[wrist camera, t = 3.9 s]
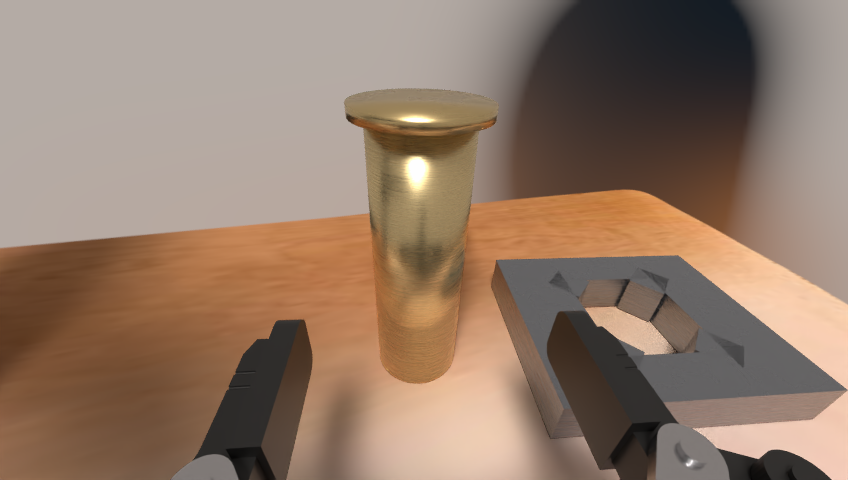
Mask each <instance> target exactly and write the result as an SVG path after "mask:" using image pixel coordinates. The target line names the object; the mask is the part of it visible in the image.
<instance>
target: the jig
mask: <svg viewBox="0 0 848 480" xmlns="http://www.w3.org/2000/svg"><path fill="white" fill-rule="evenodd" d="M491 287H492V290H493V292H494V295H495V297H496V300H497V303H498V305H499V308H500V310H501V313H502V315H503V318H504V321H505V323H506V326H507V328H508V331H509V333H510V336H511V339H512V341H513V344H514V346H515V349H516V352H517V354H518V357H519V359H520V362H521V364H522V367H523V370H524V372H525V375H526V377H527V380H528V383H529V385H530V388H531V390H532V393H533V395H534V398H535V401H536V403H537V406H538V408H539V411H540V413H541V416H542V419H543V421H544V424H545V426H546V429H547V432H548V434H549V437H550V439H554V438H567V437H581V436H584V435H583V433H582V431H581V428H580V426H579V424H578V422H577V420H576V418H575V416H574V413H573V411H572V409H571V407H570V405H569V403H568V401H567V399H566V396H565V394H564V392H563V390H562V388H561V386H560V384H559V381H558V379H557V377H556V375H555V373H554V371H553V369H552V366H551V364H550V362H549V359H548V356H547V341H548V338H549V335H550V332H551V330H552V327H553V324H554V321H555V318H556V315H557V313H558V312H560V311H580V310H583V311H585V312H586V313H587V311H586V310H585V308H584V307H605V306H617V308H618V309H621V310H623V311H625V312H627V313H630V314H632V315H634V316H636V317H639V318H641V319H643V320H645V321H648V322H649V320H650V321H651V323H652V324H653V325H654V326H655V327H656V328H657V329H658V330H659V332H660V333H661V334H662V335H663V336H664V337H665V338H666V340H667V341H668V342H669V343H670V344H671V345H672V346H673V347H674V349H675V350H676V351H677V352H678V353H676V354H657V355H644V353H645V352H643V351H641V350H639V349H637V348H635V347H633V346H631V345H629V344H627V343H625V342H623V341H621V340H619V339H618V340H619V342H620V343H621V345H622V346H623V347H624V349H625V350H626V351H627V353H628V356H629V357H631V358H632V360H633V361H634V363H635V364H636V365H637V369H638V370H640V371H641V372H642V374H643V375H644V376H645V378H646V379H647V381H648V382H649V383H650V385H651V386H652V388H653V389H654V390H655V392H656V393H657V394H658V396H659V397H660V399H661V400H662V401H663V403H664V404H665V406H666V407H667V408H668V410H669V411H670V413H671V414H672V415H673V417H674V418H675V419H676V420H677V422H678V423H679V424H681V425H685V426H687V427H689V428H702V427H715V426H729V425H742V424H756V423H769V422H783V421H796V420H809V419H813V418H815V417H816V416H817V415H818V414H820V413H821V412H822V411H823V410H824V409H826V408H827V407H828V406H829V405H830V404H832V403H833V402H834V401H835V400H837V399H838V398H839V397H840V396H841V395H843V394H844V393H845V392H846V391H848V390H847V389H846V388H844V387H843V386H842V385H841V384H839V383H838V382H837V381H835V380H834V379H833V378H832V377H830V376H829V375H828V374H827V373H825V372H824V371H823V370H822V369H820V368H819V367H818V366H817V365H815V364H814V363H813V362H812V361H810V360H809V359H808V358H807V357H805V356H804V355H803V354H802V353H800V352H799V351H798V350H796V349H795V348H794V347H793V346H791V345H790V344H789V343H788V342H786V341H785V340H784V339H783V338H781V337H780V336H779V335H778V334H776V333H775V332H774V331H773V330H771V329H770V328H769V327H768V326H766V325H765V324H764V323H762V322H761V321H760V320H759V319H757V318H756V317H755V316H754V315H752V314H751V313H750V312H749V311H747V310H746V309H745V308H744V307H742V306H741V305H740V304H739V303H737V302H736V301H735V300H734V299H732V298H731V297H730V296H728V295H727V294H726V293H725V292H723V291H722V290H721V289H720V288H718V287H717V286H716V285H715V284H713V283H712V282H711V281H710V280H708V279H707V278H706V277H705V276H703V275H702V274H701V273H700V272H698V271H697V270H696V269H695V268H693V267H692V266H691V265H689V264H688V263H687V262H686V261H684V260H683V259H682V258H681V257H679V256H637V257H596V258H555V259H514V260H496V265H495V270H494V275H493V281H492V286H491ZM588 315H589V314H588ZM590 318H591V317H590ZM592 321H593V320H592ZM593 322H594V321H593ZM595 325H596V324H595Z"/></svg>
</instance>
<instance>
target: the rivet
mask: <svg viewBox="0 0 848 480" xmlns="http://www.w3.org/2000/svg"><path fill="white" fill-rule="evenodd" d="M344 104H345V114H346V119H347V120H348V121H349V122H351V123H352V124H354V125H356V126H359V127H362V128H364V142H365V156H366V170H367V182H368V197H369V209H370V224H371V238H372V251H373V265H374V279H375V292H376V306H377V320H378V333H379V347H380V358H381V361H382V364H383V366H384V368H385V369H386V370H387V371H388V372H389V373H390V374H391V375H392V376H394V377H395V378H397V379H399V380H401V381H404V382H408V383H426V382H430V381H433V380H435V379H437V378H439V377H440V376H442V375H443V374H444V373H445V372H446V371H447V370H448V369H449V367H450V365H451V363H452V361H453V356H454V347H455V338H456V329H457V321H458V312H459V303H460V294H461V285H462V276H463V268H464V259H465V250H466V241H467V232H468V223H469V214H470V206H471V197H472V187H473V179H474V170H475V161H476V152H477V144H478V135H479V131H480V130H483V129H487V128H489V127H491V126H493V125H494V124H495V123H496V121H497V115H498V107H499V105H498V103H497V102H496V101H494V100H492V99H490V98H487V97H484V96H481V95H476V94H471V93H466V92H458V91H450V90H438V89H386V90H376V91H368V92H363V93H358V94H355V95H352V96H349V97H348V98H346V99H345V102H344Z"/></svg>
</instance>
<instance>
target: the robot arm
mask: <svg viewBox="0 0 848 480" xmlns="http://www.w3.org/2000/svg"><path fill="white" fill-rule="evenodd" d="M547 356H548V359H549V362H550V364H551V366H552V369H553V371H554V373H555V375H556V377H557V379H558V381H559V384H560V386H561V388H562V390H563V392H564V394H565V396H566V399H567V401H568V403H569V405H570V407H571V409H572V411H573V413H574V416H575V418H576V420H577V422H578V424H579V426H580V428H581V431H582V433H583V435H584V437H585V439H586V441H587V443H588V446H589V448H590V450H591V452H592V454H593V456H594V458H595V460H596V463H597V465H598V467H599V469H600V470H605V469H616V471H617V473H618V475H619V477H620V480H831V479H830V478H829V477H828V476H827V475H826V474H825V473H824V472H823V471H821V470H820V469H819V468H817V467H816V466H815V465H813V464H812V463H810V462H809V461H807V460H805V459H803V458H802V457H800V456H798V455H795V454H793V453H790V452H787V451H783V450H770V451H768V452H767V453H766V454H764V455H763V456H762V457H761V458H759V459H755V458H752V457H748V456H744V455H740V454H736V453H732V452H729V451H725V450H721V449H718V448H716V447H715V446H714V445H713V444H712V443H711V442H710V441H709V440H708V439H707V438H705V437H704V436H703V435H702V434H700V433H698V432H697V431H695V430H693V429H691V428H689V427H687V426H685V425H681V424H679V423H678V422H677V420H676V419H675V418H674V417H673V415H672V414H671V413H670V411H669V410H668V408H667V407H666V406H665V404H664V403H663V401H662V400H661V399H660V397H659V396H658V394H657V393H656V392H655V390H654V389H653V388H652V386H651V385H650V383H649V382H648V381H647V379H646V378H645V376H644V375H643V374H642V372H641V371H640V370H638V369H637V365H636V364H635V363H634V361H633V360H632V358H631V357H629V356H628V353H627V351H626V350H625V349H624V347H623V346H622V345H621V343H620V342H619V340H618V339H617V338H616V337H614V336H613V335H612V334H611V333H610V332H608V331H607V330H606V329H605V328H603V327H602V326H601V327H597V326H596V325H595V323H594V322H593V321H592V319H591V318H590V316H589V315H588V313H586V312H585V311H583V310H580V311H560V312H558V313H557V315H556V318H555V321H554V324H553V327H552V330H551V332H550V335H549V338H548V341H547ZM311 370H312V350H311V345H310V341H309V337H308V332H307V328H306V324H305V321H304V320H278V321H276V323H275V324H274V327H273V329H272V332H271V334H270V337H269V339H257V340H256V341H255V342H254V343H253V345H252V346H251V347H250V348H249V349H248V350H247V351H246V352H245V353H244V354H243V356H242V358H241V361H240V363H239V365H238V367H237V369H236V374H235V375H234V376H233V378H232V380H231V383H230V385H229V389H228V390H227V391H226V394H225V396H224V398H223V400H222V402H221V405H220V407H219V409H218V411H217V413H216V416H215V418H214V420H213V422H212V424H211V427H210V429H209V431H208V433H207V435H206V438H205V440H204V442H203V444H202V446H201V448H200V450H199V452H198V454H197V455H196V457H195V458H194V459H193V461H192V462H190V463H188V464H187V465H186V466H184V467H183V468H182V469H180V470H179V471H178V472H177V473H176V474H175V475H174V476H173V477H172V478H171V480H286V477H287V473H288V469H289V464H290V460H291V456H292V452H293V447H294V443H295V439H296V435H297V430H298V426H299V422H300V418H301V413H302V409H303V405H304V401H305V396H306V392H307V388H308V383H309V379H310V375H311Z"/></svg>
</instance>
